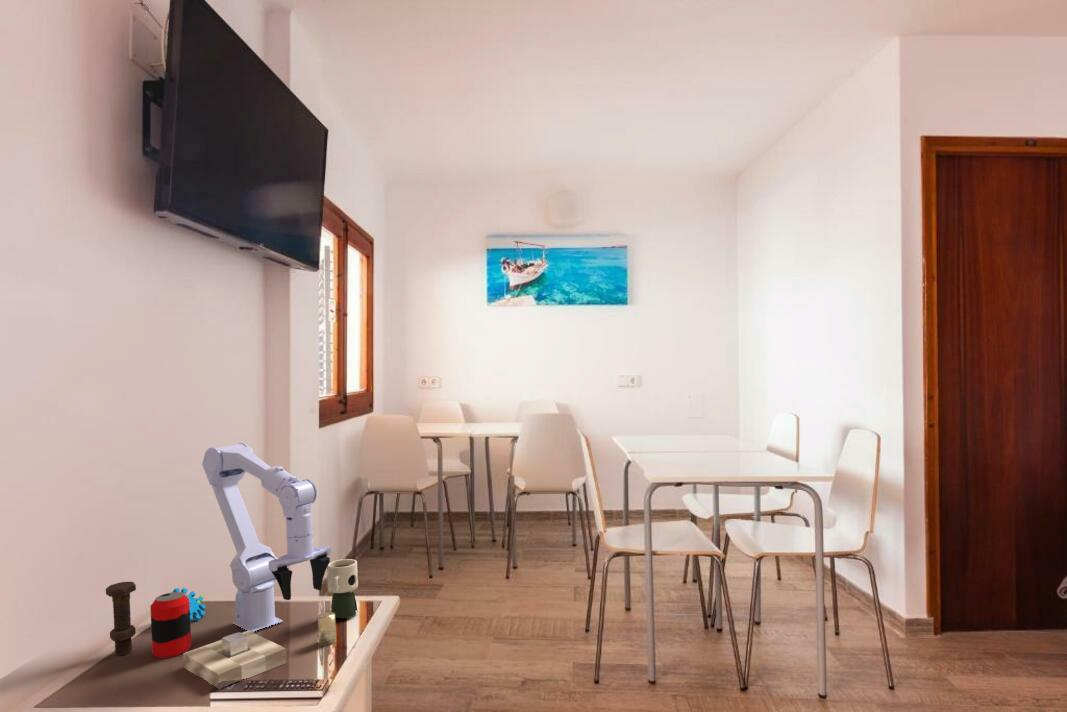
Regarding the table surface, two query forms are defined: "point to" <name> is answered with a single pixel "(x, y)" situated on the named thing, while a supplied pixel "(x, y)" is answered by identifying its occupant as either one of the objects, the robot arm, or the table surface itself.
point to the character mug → (343, 587)
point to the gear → (194, 604)
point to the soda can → (170, 625)
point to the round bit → (327, 628)
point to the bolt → (122, 616)
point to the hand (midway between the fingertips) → (302, 593)
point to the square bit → (234, 644)
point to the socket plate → (234, 660)
